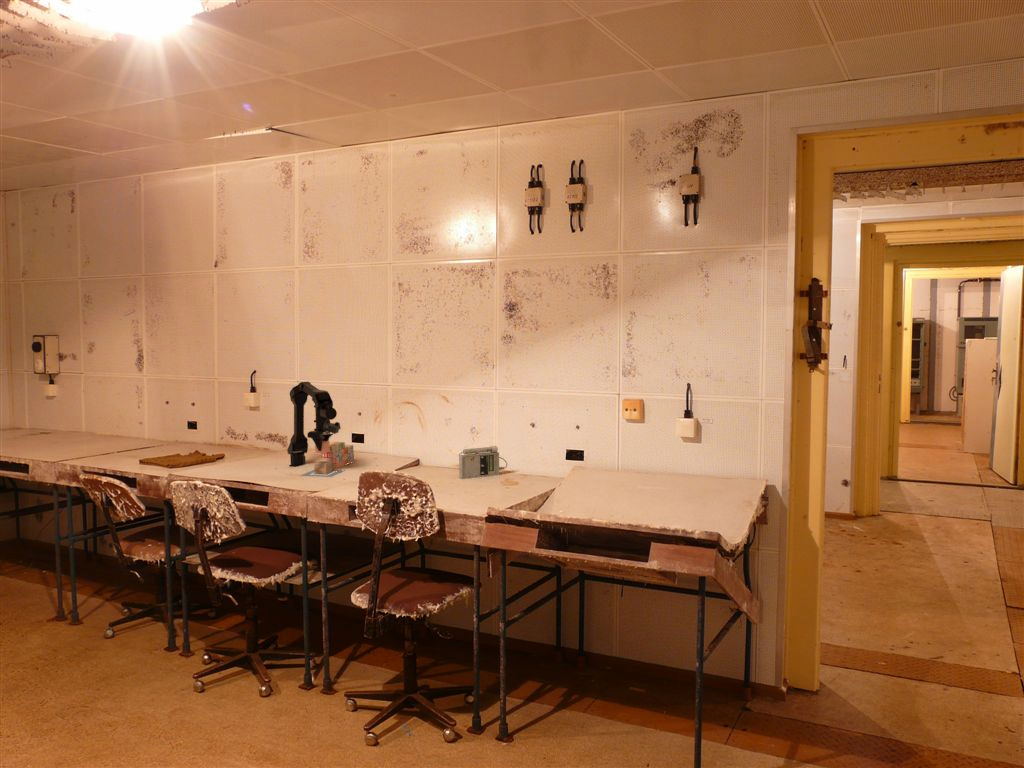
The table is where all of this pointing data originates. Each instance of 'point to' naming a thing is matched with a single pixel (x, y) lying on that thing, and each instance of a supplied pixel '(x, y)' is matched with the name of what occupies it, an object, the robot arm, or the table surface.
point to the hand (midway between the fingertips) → (322, 450)
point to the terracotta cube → (323, 447)
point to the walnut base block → (323, 467)
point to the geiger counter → (479, 462)
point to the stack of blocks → (339, 454)
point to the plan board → (333, 473)
